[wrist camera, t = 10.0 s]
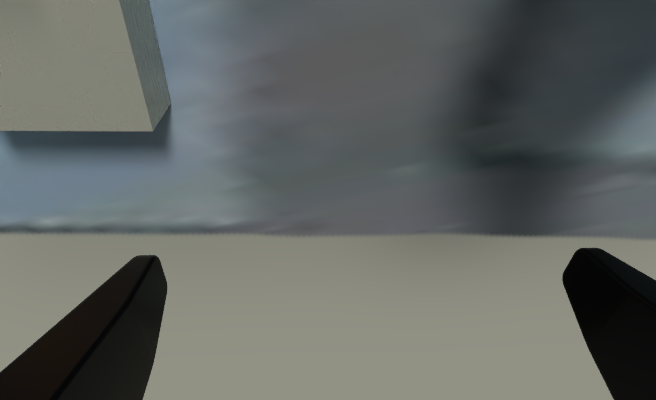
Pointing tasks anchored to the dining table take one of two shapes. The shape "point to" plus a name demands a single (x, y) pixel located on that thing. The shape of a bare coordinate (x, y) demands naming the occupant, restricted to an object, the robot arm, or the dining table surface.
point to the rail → (80, 66)
